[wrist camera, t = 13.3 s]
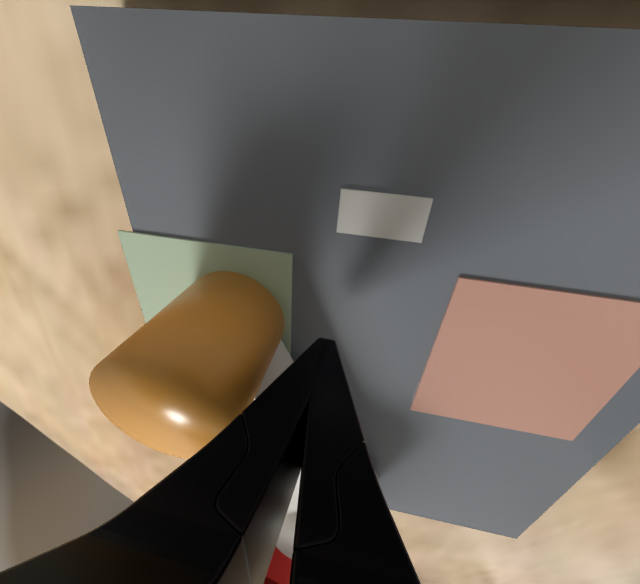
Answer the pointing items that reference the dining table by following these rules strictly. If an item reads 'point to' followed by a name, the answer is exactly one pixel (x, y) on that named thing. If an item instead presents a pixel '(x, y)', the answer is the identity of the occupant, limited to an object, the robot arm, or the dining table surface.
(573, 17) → the dining table surface
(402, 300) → the panel
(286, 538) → the lever
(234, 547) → the robot arm
